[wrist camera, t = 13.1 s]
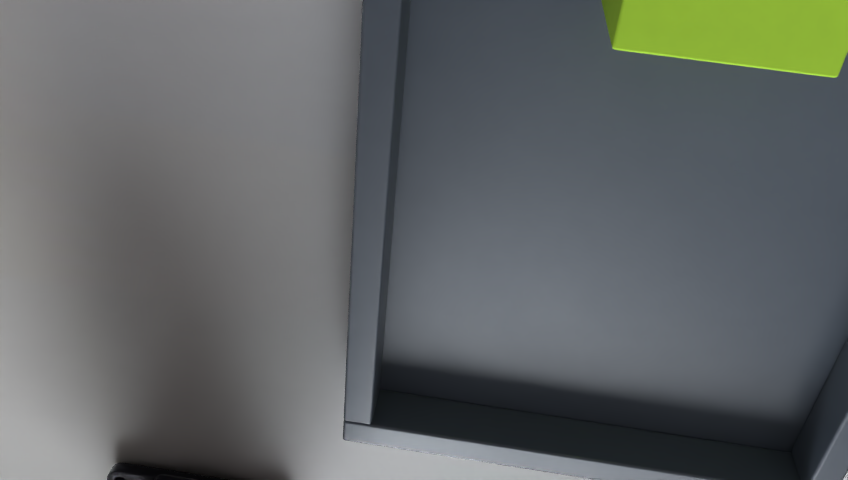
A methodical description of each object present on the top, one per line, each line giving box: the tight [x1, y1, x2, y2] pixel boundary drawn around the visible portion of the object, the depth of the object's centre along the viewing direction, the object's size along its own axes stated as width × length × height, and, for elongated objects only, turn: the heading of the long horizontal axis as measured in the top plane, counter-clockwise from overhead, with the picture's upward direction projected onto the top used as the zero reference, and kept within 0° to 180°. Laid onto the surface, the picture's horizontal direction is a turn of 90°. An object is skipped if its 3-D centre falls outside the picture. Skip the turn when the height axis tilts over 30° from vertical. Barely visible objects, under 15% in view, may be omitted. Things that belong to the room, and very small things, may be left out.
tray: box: [343, 0, 848, 480], centre depth 18 cm, size 20×14×2 cm
